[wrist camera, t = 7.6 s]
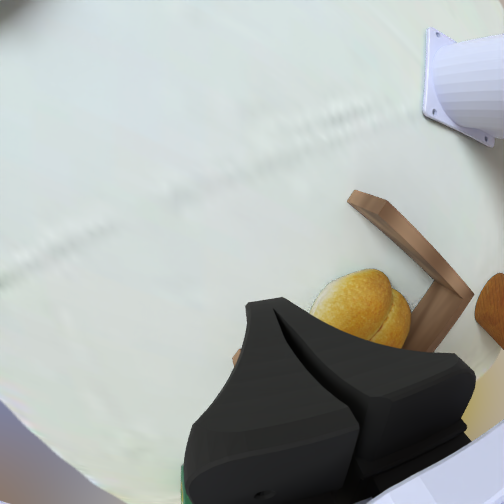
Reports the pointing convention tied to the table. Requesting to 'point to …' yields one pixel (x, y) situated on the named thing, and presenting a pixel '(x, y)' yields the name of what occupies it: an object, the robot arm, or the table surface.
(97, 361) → the table surface
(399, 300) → the bread roll
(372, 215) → the box
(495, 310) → the disposable coffee cup
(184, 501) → the coffee box
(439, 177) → the table surface
